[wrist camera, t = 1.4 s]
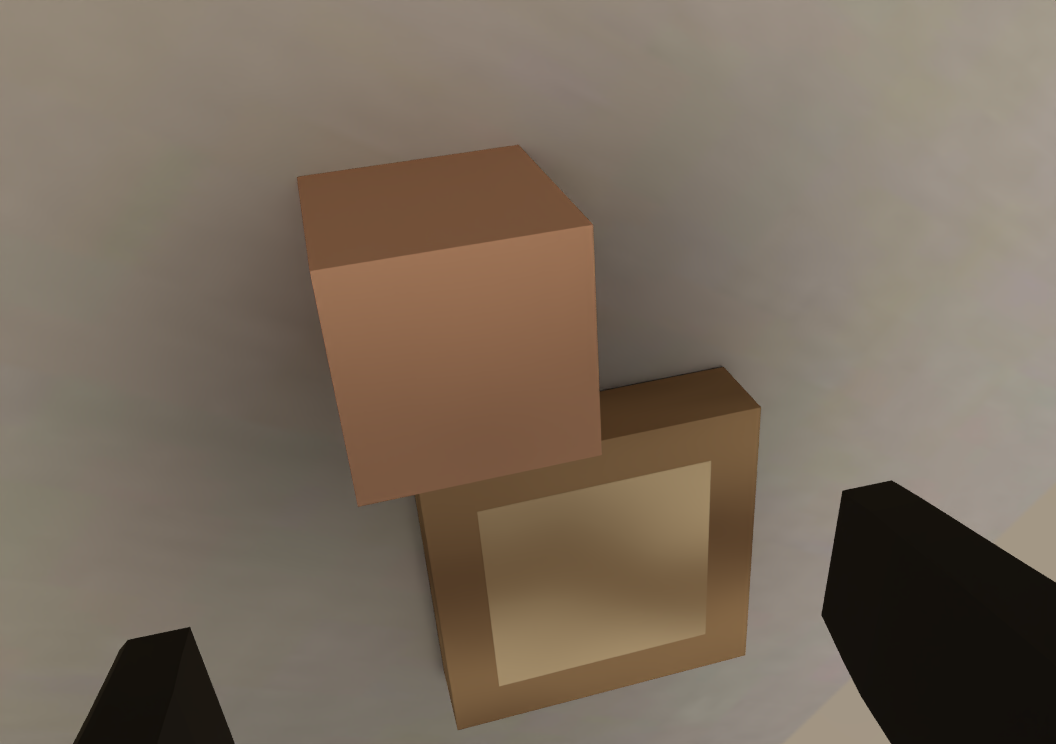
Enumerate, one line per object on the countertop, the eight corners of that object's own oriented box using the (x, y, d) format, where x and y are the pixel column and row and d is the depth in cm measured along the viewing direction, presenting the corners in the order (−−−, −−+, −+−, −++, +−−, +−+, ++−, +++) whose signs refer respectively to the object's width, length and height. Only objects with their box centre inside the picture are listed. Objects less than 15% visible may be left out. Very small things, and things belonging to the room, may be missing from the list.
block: (532, 336, 21) (602, 454, 17) (336, 373, 20) (357, 506, 16) (517, 144, 19) (592, 224, 15) (296, 176, 18) (309, 271, 14)
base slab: (714, 605, 27) (745, 655, 25) (444, 672, 26) (458, 730, 24) (723, 366, 23) (761, 407, 21) (403, 430, 22) (417, 479, 20)
